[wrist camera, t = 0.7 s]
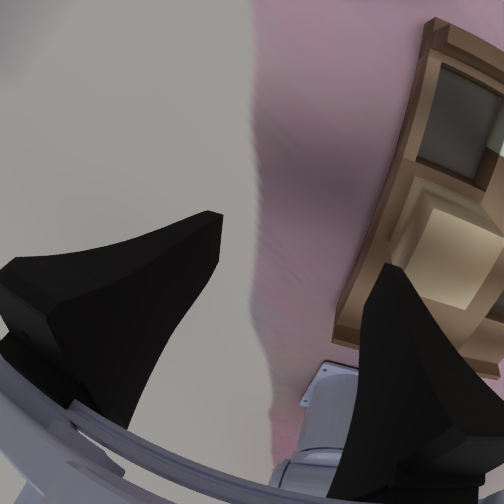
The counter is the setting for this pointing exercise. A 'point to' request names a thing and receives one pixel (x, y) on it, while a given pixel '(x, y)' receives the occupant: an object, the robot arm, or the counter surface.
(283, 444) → the counter surface
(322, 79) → the counter surface
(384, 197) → the trap board
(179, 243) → the robot arm
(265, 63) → the counter surface
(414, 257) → the maple block
